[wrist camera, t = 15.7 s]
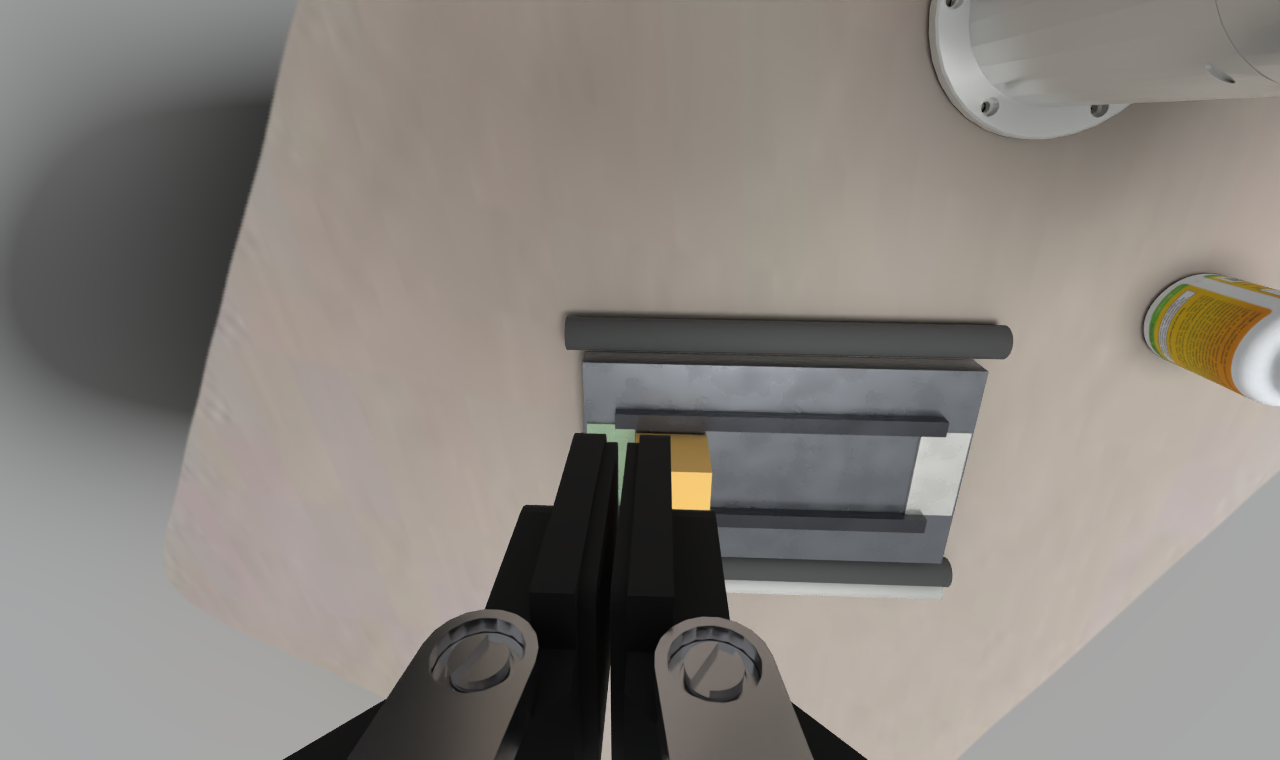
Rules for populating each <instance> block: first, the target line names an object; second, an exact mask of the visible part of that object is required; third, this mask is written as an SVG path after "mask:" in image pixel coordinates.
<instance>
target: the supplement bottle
mask: <svg viewBox="0 0 1280 760" xmlns="http://www.w3.org/2000/svg"><path fill="white" fill-rule="evenodd" d="M1144 336H1145V340H1146V342H1147V344H1148V346H1149V347H1150V349H1151V350H1152V351H1153V352H1154V353H1155V354H1157V355H1158V356H1160V357H1162V358H1164V359H1166V360H1168V361H1170V362H1172V363H1174V364H1176V365H1179V366H1181V367H1183V368H1185V369H1187V370H1189V371H1192V372H1194V373H1196V374H1198V375H1200V376H1202V377H1204V378H1206V379H1208V380H1211V381H1213V382H1215V383H1217V384H1220V385H1222V386H1224V387H1226V388H1228V389H1230V390H1232V391H1234V392H1236V393H1238V394H1241V395H1243V396H1245V397H1247V398H1249V399H1252V400H1254V401H1257V402H1259V403H1262V404H1266V405H1270V406H1278V407H1280V291H1279V290H1276V289H1272V288H1268V287H1265V286H1261V285H1257V284H1253V283H1250V282H1246V281H1243V280H1239V279H1235V278H1231V277H1227V276H1222V275H1218V274H1198V275H1193V276H1190V277H1187V278H1184V279H1182V280H1180V281H1178V282H1176V283H1175V284H1173V285H1171V286H1170V287H1169V288H1167V289H1166V290H1165V291H1164V292H1163V293H1161V294H1160V295H1159V296H1158V298H1157V299H1156V300H1155V301H1154V302H1153V304H1152V305H1151V307H1150V309H1149V310H1148V313H1147V315H1146V318H1145V322H1144Z"/></svg>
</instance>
